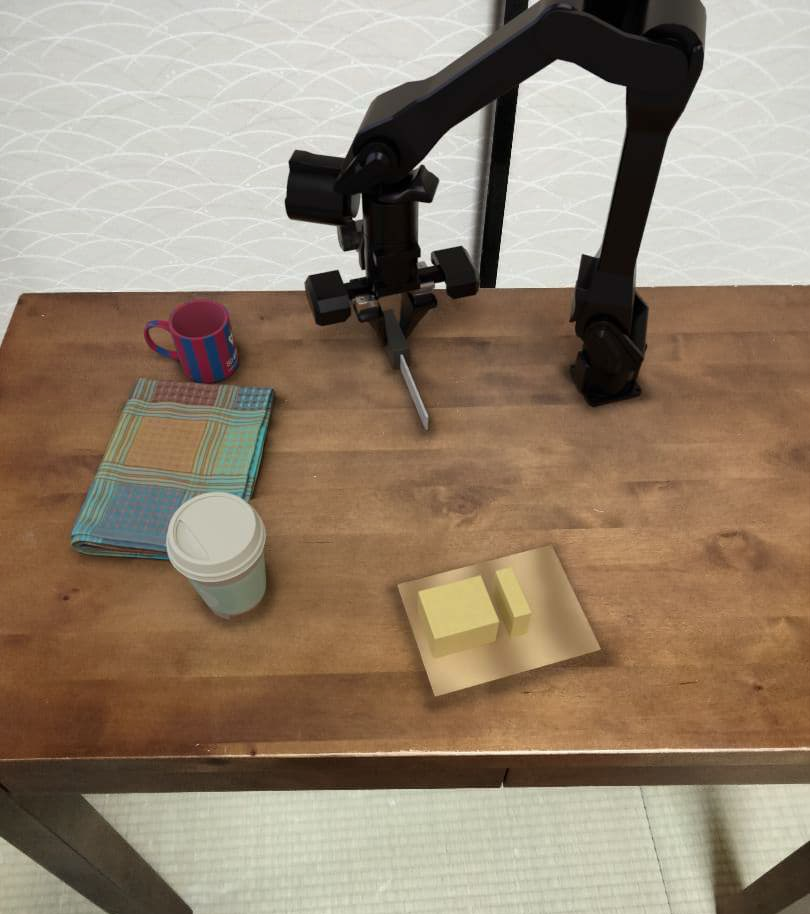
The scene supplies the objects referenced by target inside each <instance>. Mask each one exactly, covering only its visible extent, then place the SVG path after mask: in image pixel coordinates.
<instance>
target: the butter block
mask: <svg viewBox="0 0 810 914" xmlns="http://www.w3.org/2000/svg"><path fill="white" fill-rule="evenodd" d="M418 615H419V618H420V621H421V624H422V627H423V629H424V632H425V635H426V638H427V641H428V644H429V647H430V650H431V653H432V655H433V658H438V657H441V656H445V655H448V654H452V653H456V652H459V651H463V650H467V649H470V648H474V647H478V646H481V645H485V644H488V643H492V642H495V641H496V636H497V631H498V626H499V619H498V617H497V614H496V612H495V609H494V607H493V604H492V602H491V599H490V597H489V594H488V592H487V590H486V587H485V585H484V582H483V580H482V577H481V575H480V576H476V577H472V578H468V579H464V580H460V581H457V582H453V583H449V584H445V585H441V586H438V587H434V588H430V589H426V590H422V591H419V592H418Z"/></svg>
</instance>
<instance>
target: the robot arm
mask: <svg viewBox="0 0 810 914" xmlns="http://www.w3.org/2000/svg"><path fill="white" fill-rule="evenodd" d="M707 15H708V14H707V9H706V6H705V5H704V3H703V2H702V1H701V0H538V1H537V2H535V3H534V4H532V5H531V6H530V7H528V8H526V9H525V10H523V12H521V13H520V14H518V15H517V16H515V17H514V18H513V19H511V20H509V21H508V22H507V23H506V24H504V25H503V26H501V27H500V28H498V29H497V30H496V31H494V32H493V33H492V34H490V35H488V36H487V37H486V38H485V39H483V40H482V41H480V42H479V43H478V44H476V45H474V46H473V47H472V48H470V49H469V50H468V51H466V52H464V53H463V54H462V55H460V56H459V57H458V58H456V59H455V60H454V61H452V62H451V63H449V64H448V65H446V66H445V67H444V68H442V69H441V70H439V71H438V72H437V73H435V74H433V75H431V76H428V77H426V78H424V79H420V80H419V79H418V80H412V81H406V82H403V83H402V84H400V85H397V86H396V87H393V88H391V89H389V90H387V91H384V92H382V93H380V94H379V95H377V96H376V97H375V98H373V100H372V101H371V102H370V104H369V106H368V108H367V110H366V112H365V114H364V117H363V118H362V121H361V123H360V125H359V127H358V129H357V132H356V134H355V136H354V137H353V140H352V142H351V144H350V146H349V149H348V151H347V153H346V155H345V157H342V156H335V155H334V156H333V155H325V154H319V153H313V152H310V151H308V150H302V149H294V150H293V152H292V153H291V155H290V157H289V159H288V162H287V163H288V171H289V172H288V176H287V181H286V191H285V192H286V193H285V198H284V209H285V213H286V216H287V217H288V219H289V220H290V221H297V222H301V223H311V224H318V225H323V226H331V227H336V234H337V240H338V245H339V247H340V249H341V251H343V252H344V253H346V252H351V251H355V252H356V253H357V255H358V265H359V268H360V270H361V271H365V276H361V277H356V278H351V279H349V281H348V282H344V281H343V278H342V275H341V272H340V270H339V269H334V270H328V271H324V272H318V273H314V274H309V275H308V276H307V277H306V279H305V280H304V283H303V284H304V291H305V296H306V299H307V303H308V305H309V308H310V311H311V314H312V317H313V320H314V322H315V325H317V326H320V327H327V326H331V325H336V324H341V323H345V322H346V321H348V319H349V318H350V317H352V309H353V311H354V314H355V317H356V319H357V321H358V322H359V323H361V324H365V323H368V325H369V326H370V327H371V328H372V329H373V330H374V332H375V333H376V335H377V337H378V339H379V341H380V343H381V346H382V347H383V348H384V347H385V346H386V345H387V333H386V324H385V316H384V313H383V311H384V310H383V309H382V306H381V304H380V299H381V298H386V297H391V296H395V295H396V296H397V295H401V297H400V298H401V299H400V310H399V311H400V312H399V321H398V322H399V325H400V327H401V329H402V332H403V334H404V336H405V339H406V341H407V342H408V339H409V338H410V337H411V335H412V333H413V332H414V331H415V329H416V327H417V326H418V325H419V323H420V322H421V321H422V320H423V318H424V317H425V316H426V315H427V314H428V313H429V312H430V311H431V310H433V309H436V308H437V307H438V305H439V301H438V298H437V296H436V295H435V290H434V289H436V284H441V283H444V284H445V293H446V296H448V297H450V299H452V300H458V299H464V298H468V297H472V296H476V295H477V294H478V293H479V290H480V288H479V287H480V273H479V271H478V268H477V267H476V265H475V263H474V261H473V259H472V257H471V255H470V253H469V252H468V250H467V249H466V248H465V247H464V246H463V245H458V246H452V247H447V248H442V249H437V250H433V251H430V262H431V264H432V265H429V266H428V265H427V263H426V261H424V260H421V261H419V258H420V259H421V258H422V249H421V248H422V247H420V244H419V211H420V210H419V208H420V207H419V205H420V203H423V204H433V201H434V200H435V199H434V198H435V195H436V193H437V190H438V187H439V185H440V179H439V176H437V175H435V174H434V173H433V172H431V171H429V169H427V167H426V165H425V164H421V162H423V160H424V159H426V157H427V156H428V155H429V154H430V152H431V151H432V150H433V149H434V147H436V145H437V144H438V143H439V142H440V140H441V139H442V138H443V137H444V136H445V135H446V134H447V133H448V132H449V131H450V130H451V129H453V128H454V127H455V126H457V125H459V124H460V123H462V122H463V121H465V120H466V119H468V118H470V117H472V116H473V115H474V114H476V113H477V112H479V111H481V110H482V109H483V108H485V107H486V106H488V105H490V104H491V103H493V102H494V101H496V100H497V99H499V98H500V97H502V96H503V95H505V94H506V93H508V92H510V91H511V90H513V89H514V88H516V87H517V86H519V85H521V84H522V83H524V82H525V81H527V80H528V79H531V77H533V76H534V75H537V74H538V73H539V72H540V71H542V70H544V69H545V68H547V67H548V66H550V65H552V64H553V63H555V62H556V61H562V62H566V63H570V64H575V66H577V67H579V68H581V69H583V70H585V71H586V72H588V73H590V74H592V75H594V76H596V77H597V78H599V79H601V80H602V81H604V82H606V83H609V84H613V85H617V86H621V87H625V125H626V126H625V130H624V135H623V140H622V144H621V150H620V153H619V159H618V162H617V169H616V173H615V177H614V182H613V187H612V192H611V196H610V201H609V207H608V211H607V215H606V221H605V225H604V230H603V235H602V239H601V244H600V247H599V249H598V250H597V251H596V253H595V254H594V256H592V255H588V254H585V253H581V255H580V261H579V266H578V267H579V268H578V272H577V277H576V278H577V279H576V280H575V285H574V289H573V290H574V291H573V297H572V302H571V308H570V314H569V319H568V323H570V324H572V323H574V334H575V337H576V338H578V339H580V340H581V341H582V346H581V349H580V350H578V351H577V354H576V357H575V363H573V364H572V363H571V364H570V365H569V369H568V370H569V372H570V374H571V378H572V380H573V382H574V383H575V385H576V386H577V388H578V391H579V392H580V393H581V394H582V395H583V397H584V398H585V400H586V402H587V404H588V405H589V406H590V407H597V406H602V405H605V404H606V405H607V404H610V403H614V402H617V401H622V400H627V399H631V398H636V397H640V396H641V395H642V393H643V389H642V387H641V386H640V384H639V383H638V382H637V380H638V377H639V374H640V370H641V367H642V365H643V362H644V361H645V355H646V352H647V349H648V344H647V333H648V325H649V313H650V306H649V305H648V303H647V302H646V301H645V300H644V299H643V297H642V296H641V295H640V294H639V293H638V292H637V290H636V288H637V287H636V286H637V263H638V261H637V260H638V257H639V254H640V253H639V252H640V249H641V246H642V241H643V237H644V233H645V229H646V226H647V221H648V217H649V214H650V210H651V207H652V202H653V198H654V195H655V191H656V188H657V182H658V179H659V176H660V171H661V168H662V163H663V159H664V155H665V151H666V148H667V144H668V140H669V137H670V135H671V133H672V131H673V129H674V128H675V126H676V125H677V123H678V121H679V120H680V118H681V116H682V115H683V114H684V112H685V109H686V108H687V106H688V103H689V102H690V100H691V97H692V95H693V92H694V90H695V89H696V86H697V84H698V81H699V79H700V77H701V75H702V72H703V70H704V64H705V63H704V62H705V51H706V35H707V19H708V16H707ZM419 164H420V165H419ZM418 165H419V166H418ZM417 166H418V167H417ZM416 167H417V168H416ZM360 205H361V212H362V219H361V218H360V219H357V220H354V219H356V217H358V214H359V210H360Z"/></svg>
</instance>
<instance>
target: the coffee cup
mask: <svg viewBox="0 0 810 914" xmlns="http://www.w3.org/2000/svg"><path fill="white" fill-rule="evenodd" d="M266 531H267V530H266V526H265V524H264V521H263V519H262V517H261V516H260V515H259V513H258V511H257V510H256V509H255V508H254V507H253V506H252V505H251V504H250V503H249V504H248V503H247V502H245V501H244V500H243V499H241V498H240V497H238V496H236V495H233V494H230V493H225V492H210V493H205V494H201V495H198V496H196V497H194V498H191V499H190V500H188V501H187V502H185V503H184V504H183V505H182V506H180V507H179V509H178V510H177V511H176V512H175V513H174V515H173V517H172V519H171V521H170V524H169V528H168V532H167V537H166V545H167V553H168V556H169V559H170V560H169V561H170V563H171V564H172V566H173V567H174V568H175V569H176V570H177V572H179V573H180V574H181V575H183V576H185V577H186V579H187V580H188V581H189V583H190V584H191V585H192V587H193V588H194V590H195V591H196V592H197V593H198V595H199V596H200V597H201V599H202V601H204V603H205V604H206V605H207V607H208V608H209V610H211V612H212V613H213V614H214V615H215V616H217V617H218V618H220V619H223V620H227V621H231V616H238V615H242V614H245V613H247V612H249V611H251V610H253V609H254V608H255V607H256V606H257V605H259V604H260V602H261V601H262V599H263V598H264V596H265V593H266V592H267V591H266V590H267V572H266V561H265V560H266V559H265V548H264V547H265V544H266V536H267V533H266Z"/></svg>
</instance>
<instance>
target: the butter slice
mask: <svg viewBox="0 0 810 914" xmlns="http://www.w3.org/2000/svg"><path fill="white" fill-rule="evenodd" d="M492 595H493V597H494V599H495V602H496V604H497V607H498V609H499V612H500V614H501V617H502V619H503V621H504V624H505V626H506V629H507V631H508V634H509V636H510V638H511V637H515V636H518V635H522V634H525V633H526V632H527V628H528V624H529V620H530V617H531V610H530V608H529V606H528V604H527V601H526V599H525V597H524V594H523V592H522V590H521V587H520V585H519V583H518V580H517V578H516V576H515V574H514V571H513V569H512V567H509V568H506V569H502V570H498V571H495V577H494V583H493V589H492Z"/></svg>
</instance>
